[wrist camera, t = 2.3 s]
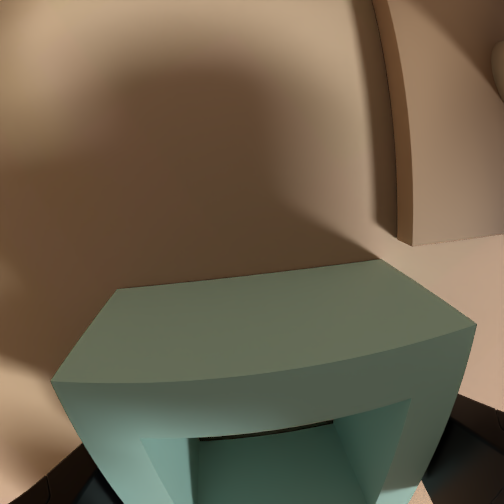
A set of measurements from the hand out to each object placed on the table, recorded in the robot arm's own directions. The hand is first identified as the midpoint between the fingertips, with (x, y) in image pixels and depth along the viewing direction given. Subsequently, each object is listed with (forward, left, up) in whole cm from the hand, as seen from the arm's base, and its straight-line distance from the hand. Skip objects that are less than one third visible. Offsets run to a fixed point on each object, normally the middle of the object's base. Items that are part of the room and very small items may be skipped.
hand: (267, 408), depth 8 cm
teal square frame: (0, 0, -1) cm, 1 cm away
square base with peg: (-9, -9, -1) cm, 13 cm away
